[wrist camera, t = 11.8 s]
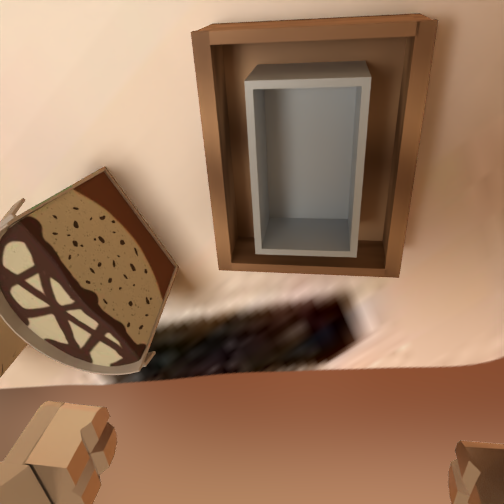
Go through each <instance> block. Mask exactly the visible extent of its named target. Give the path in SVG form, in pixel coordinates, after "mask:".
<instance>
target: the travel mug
mask: <svg viewBox="0 0 504 504" xmlns="http://www.w3.org/2000/svg"><path fill="white" fill-rule="evenodd" d="M26 345H27V343H26V342H25V341H24V340H22V339H21V338H20V337H19V336H18V335H17V334H16V333H15V332H14V331H13V330H12V329H11V328H10V327H9V326H8V325H7V324H6V323H5V322H4V320H3V319H2V317H1V316H0V377H1V376H2V375H3V374H4V372H5V371H6V370H7V369H8V367H9V366H10V365H11V364H12V363H13V361H14V360H15V359H16V358H17V356H18V355H19V354H20V353H21V352H22V350H23V349H24V348H25V347H26Z"/></svg>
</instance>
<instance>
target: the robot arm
mask: <svg viewBox="0 0 504 504" xmlns="http://www.w3.org/2000/svg"><path fill="white" fill-rule="evenodd" d="M109 417H110V414H109V412H108V410H107V407H99V406H89V405H80V404H72V403H65V402H54V401H46V402H45V403H44V404H42V405H41V406H40V407H39V409H38V410H37V412H36V413H35V415H34V416H33V418H32V419H31V421H30V422H29V423H28V425H27V427H26V428H25V429H24V431H23V432H22V434H21V435H20V437H19V439H18V440H17V441H16V443H15V445H14V446H13V447H12V449H11V450H10V452H9V453H8V455H7V456H6V458H5V459H4V461H3V462H1V461H0V504H93V502H94V500H95V498H96V496H97V493H98V491H99V489H100V487H101V481H100V474H101V473H102V472H104V471H105V470H106V469H107V468H109V466H110V464H111V462H112V460H113V457H114V455H115V450H116V445H117V434H116V431H115V428H114V427H113V426H112V425H111V424H109V423H108V422H107V421H108V419H109ZM455 453H456V456H457V459H456V460H454V461H452V462H451V464H450V468H449V473H448V487H449V495H450V499H451V504H504V444H496V443H484V442H472V441H459V442H458V443H457V445H456V448H455Z"/></svg>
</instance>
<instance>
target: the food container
mask: <svg viewBox="0 0 504 504" xmlns="http://www.w3.org/2000/svg"><path fill="white" fill-rule="evenodd" d="M24 201H25V199H24V198H22V199H21V200H20V201H18V202H17V203H16V204H14V205H13V206H12V207H11V209H10V210H9V211H8V212H7V214H6V215H5V216H4V217H3V219H2V220H1V221H0V316H1V317H2V319H3V320H4V322H5V323H6V324H7V325H8V326H9V327H10V328H11V329H12V330H13V331H14V332H15V333H16V334H17V335H18V336H19V337H20V338H21V339H22V340H24V341H25V342H26V343H27V344H29V345H30V346H32V347H33V348H34V349H36V350H37V351H39V352H40V353H42V354H44V355H45V356H47V357H49V358H51V359H53V360H55V361H57V362H59V363H61V364H64V365H66V366H69V367H72V368H75V369H78V370H82V371H86V372H90V373H96V374H103V375H122V374H130V373H135V372H139V371H140V370H141V368H142V367H145V366H146V365H147V364H148V363H149V361H150V360H151V359H152V357H153V356H154V355H155V353H156V352H155V351H153V352H149V353H148V350H149V347H150V345H151V342H152V339H153V336H154V334H155V331H156V328H157V325H158V323H159V320H160V317H161V314H162V312H163V309H164V306H165V303H166V301H167V298H168V295H169V292H170V290H171V287H172V284H173V281H174V279H175V276H176V273H177V270H178V268H179V267H178V265H177V264H176V263H175V261H174V260H173V259H172V257H171V256H170V255H169V253H168V252H167V250H166V249H165V248H164V246H163V245H162V244H161V242H160V241H159V240H158V238H157V237H156V236H155V234H154V233H153V231H152V230H151V229H150V227H149V226H148V225H147V223H146V222H145V221H144V219H143V218H142V216H141V215H140V214H139V212H138V211H137V210H136V208H135V207H134V206H133V204H132V203H131V202H130V200H129V199H128V197H127V196H126V195H125V193H124V192H123V191H122V189H121V188H120V187H119V185H118V184H117V183H116V181H115V180H114V178H113V177H112V176H111V174H110V173H109V172H108V170H107V169H106V168H105V167H103V168H101V169H99V170H98V171H96V172H94V173H92V174H91V175H89V176H87V177H85V178H84V179H82V180H80V181H78V182H76V183H75V184H73V185H71V186H69V187H68V188H66V189H64V190H62V191H61V192H59V193H57V194H55V195H54V196H52V197H50V198H48V199H47V200H45V201H43V202H41V203H40V204H38V205H36V206H34V207H32V208H31V209H29V210H27V211H25V212H24V213H22V214H20V215H18V216H16V215H15V214H16V212H17V211H18V210H19V208H20V207H21V206H22V204H23V203H24Z"/></svg>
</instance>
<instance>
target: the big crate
mask: <svg viewBox="0 0 504 504" xmlns="http://www.w3.org/2000/svg"><path fill="white" fill-rule="evenodd" d="M437 24H438V20H436V19H435V20H432V19H430V18H428V17H426V16H424V15H422V14H400V15H380V16H360V17H340V18H320V19H300V20H280V21H260V22H240V23H220V24H211V25H209V26H206V27H204V28H202V29H200V30H197V31H193V32H191V37H192V46H193V54H194V63H195V71H196V80H197V88H198V97H199V105H200V114H201V122H202V131H203V139H204V148H205V156H206V165H207V173H208V182H209V190H210V199H211V207H212V216H213V224H214V233H215V241H216V250H217V258H218V267H219V270H229V271H253V272H277V273H301V274H325V275H349V276H373V277H396V278H399V274H400V267H401V261H402V254H403V247H404V241H405V234H406V228H407V221H408V215H409V208H410V201H411V195H412V188H413V182H414V175H415V169H416V162H417V155H418V149H419V142H420V136H421V129H422V122H423V116H424V109H425V103H426V96H427V90H428V83H429V76H430V70H431V63H432V57H433V50H434V43H435V37H436V30H437ZM340 61H366V64H367V67H368V69H369V72H370V74H371V89H370V101H369V113H368V125H367V137H366V149H365V161H364V174H363V186H362V198H361V210H360V222H359V234H358V246H357V258H355V257H325V256H295V255H265V254H255V239H254V224H253V209H252V193H251V178H250V162H249V147H248V131H247V116H246V100H245V85H244V81H245V79H246V78H247V77H248V76H249V74H250V73H251V72H252V71H253V69H254V68H255V67H256V66H257V65H259V64H286V63H313V62H340Z"/></svg>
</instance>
